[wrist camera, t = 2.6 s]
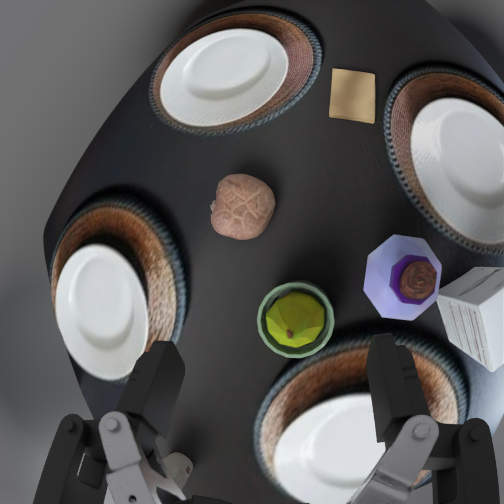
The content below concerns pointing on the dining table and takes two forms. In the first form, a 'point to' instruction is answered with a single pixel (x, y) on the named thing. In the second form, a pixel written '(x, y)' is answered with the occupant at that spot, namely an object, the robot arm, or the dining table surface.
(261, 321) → the bowl
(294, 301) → the fruit
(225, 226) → the brown rounded lump
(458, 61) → the dining table surface
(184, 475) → the coffee cup
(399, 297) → the potion bottle
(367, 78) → the board
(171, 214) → the dining table surface
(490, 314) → the white packaging box
